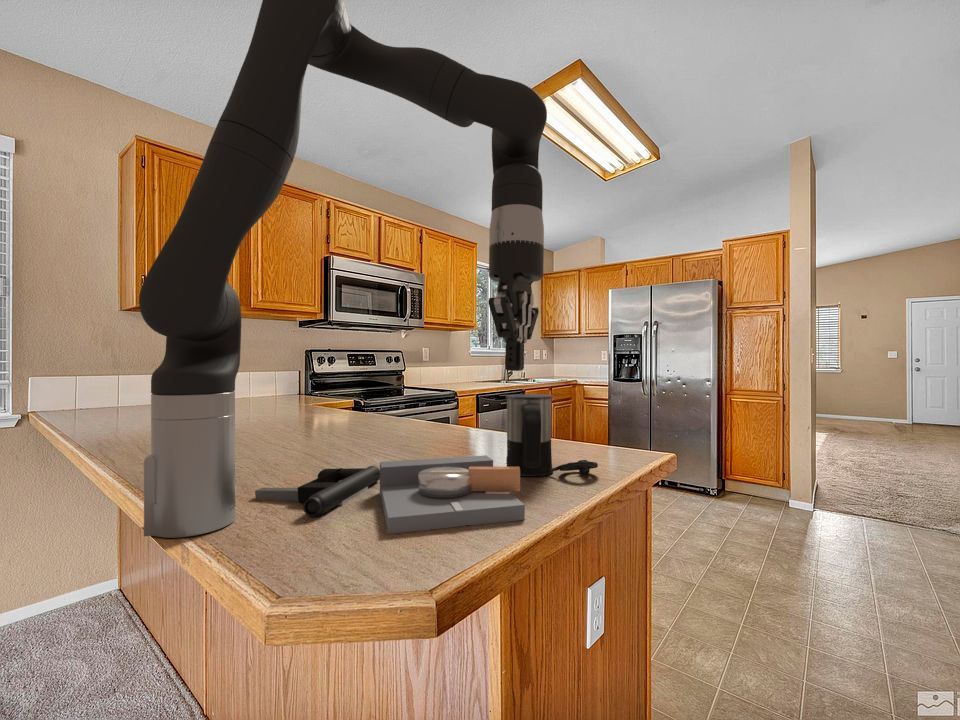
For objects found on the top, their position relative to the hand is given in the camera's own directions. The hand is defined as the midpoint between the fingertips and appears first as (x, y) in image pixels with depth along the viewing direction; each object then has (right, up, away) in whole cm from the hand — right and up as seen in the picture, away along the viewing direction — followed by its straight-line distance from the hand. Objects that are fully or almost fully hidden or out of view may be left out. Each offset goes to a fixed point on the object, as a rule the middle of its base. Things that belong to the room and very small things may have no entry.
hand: (514, 370), depth 62 cm
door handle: (-31, -21, +10) cm, 39 cm away
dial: (-6, -18, +4) cm, 19 cm away
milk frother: (+9, -20, +23) cm, 32 cm away
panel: (-10, -20, +5) cm, 23 cm away
